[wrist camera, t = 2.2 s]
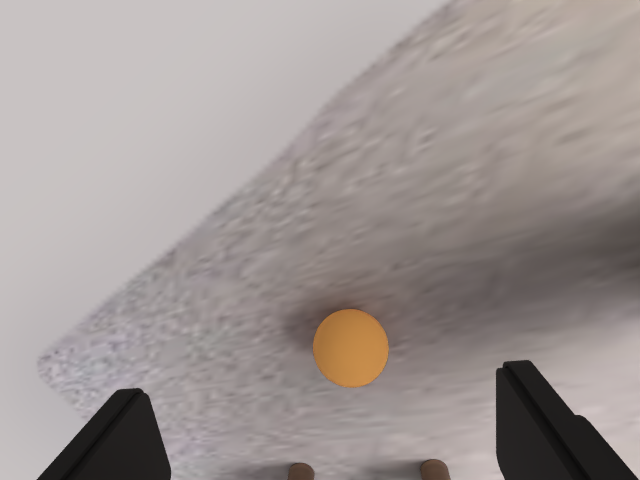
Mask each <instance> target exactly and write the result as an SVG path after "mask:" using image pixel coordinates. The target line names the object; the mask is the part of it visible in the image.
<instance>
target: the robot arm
mask: <svg viewBox="0 0 640 480" xmlns="http://www.w3.org/2000/svg"><path fill="white" fill-rule="evenodd" d="M496 454H497V460H498V464H499V467H500V470H501V472H502V474H503V476H504V478H505V480H639V479H638V478H637V477H636V476H635V475H634V474H633V472H632V471H631V470H630V469H629V468H628V466H627V465H626V464H625V463H624V462H623V461H622V459H621V458H620V457H619V456H618V455H617V454H616V452H615V451H614V450H613V449H612V448H611V446H610V445H609V444H608V443H607V442H606V441H605V439H604V438H603V437H602V436H601V435H600V434H599V432H598V431H597V430H596V429H595V428H594V427H593V425H592V424H591V423H590V422H589V421H588V420H587V419H586V418H585V417H583V416H581V415H574V413H573V412H572V411H571V410H570V408H569V407H568V406H567V405H566V404H565V402H564V401H563V400H562V399H561V397H560V396H559V395H558V394H557V393H556V391H555V390H554V389H553V388H552V387H551V385H550V384H549V383H548V382H547V380H546V379H545V378H544V377H543V376H542V374H541V373H540V372H539V371H538V369H537V368H536V367H535V366H534V365H533V363H532V362H531V361H529V360H521V361H507V362H504V364H503V368H498V369H497V370H496ZM170 479H171V467H170V464H169V461H168V457H167V454H166V451H165V448H164V444H163V441H162V438H161V434H160V431H159V428H158V425H157V421H156V418H155V415H154V411H153V408H152V405H151V401H150V398H149V396H148V395H147V394H146V393H144V392H143V390H142V389H140V388H133V389H120V390H117V391H116V392H115V393H114V394H113V395H112V396H111V397H110V398H109V399H108V400H107V401H106V403H105V404H104V405H103V406H102V407H101V408H100V409H99V410H98V412H97V413H96V414H95V415H94V416H93V417H92V418H91V419H90V421H89V422H88V423H87V424H86V425H85V426H84V427H83V428H82V429H81V431H80V432H79V433H78V434H77V435H76V436H75V437H74V438H73V440H72V441H71V442H70V443H69V444H68V445H67V446H66V447H65V449H64V450H63V451H62V452H61V453H60V454H59V455H58V456H57V457H56V459H55V460H54V461H53V462H52V463H51V464H50V465H49V466H48V468H47V469H46V470H45V471H44V472H43V473H42V474H41V475H40V477H39V478H38V479H37V480H170Z"/></svg>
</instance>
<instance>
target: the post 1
mask: <svg viewBox="0 0 640 480" xmlns="http://www.w3.org/2000/svg"><path fill="white" fill-rule="evenodd" d="M288 480H314V470H313V469H312V468H311V467H310V466H309V465H307V464H304V463H297V464H294V465H293V466H291V468H290V469H289V474H288Z"/></svg>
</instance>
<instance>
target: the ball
mask: <svg viewBox="0 0 640 480" xmlns="http://www.w3.org/2000/svg"><path fill="white" fill-rule="evenodd" d="M388 352H389V347H388V340H387V336H386V333H385V331H384V329H383V328H382V326H381V325H380V323H379V322H378V321H377V320H376V319H375V318H374V317H372V316H371V315H369V314H368V313H366V312H363V311H360V310H356V309H344V310H340V311H337V312H334V313H332V314H331V315H329V316H328V317H327V318H326V319H324V320H323V322H322V323H321V324H320V326H319V327H318V329H317V331H316V333H315V337H314V341H313V353H314V358H315V361H316V364H317V366H318V368H319V370H320V371H321V372H322V374H323V375H324V376H325V377H326V378H327V379H329V380H330V381H332V382H333V383H335V384H337V385H340V386H343V387H349V388H354V387H360V386H364V385H366V384H368V383H370V382H372V381H373V380H374V379H376V378H377V377H378V376H379V374H380V373H381V372H382V370H383V369H384V367H385V365H386V362H387V359H388Z"/></svg>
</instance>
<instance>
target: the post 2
mask: <svg viewBox="0 0 640 480" xmlns="http://www.w3.org/2000/svg"><path fill="white" fill-rule="evenodd" d="M420 471H421V476H422V480H451V479H450V475H449V472H448V468H447V466H446V464H445V463H443V462H442V461H439V460H428V461H426V462H425V463H423V464H422V466H421V469H420Z"/></svg>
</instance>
